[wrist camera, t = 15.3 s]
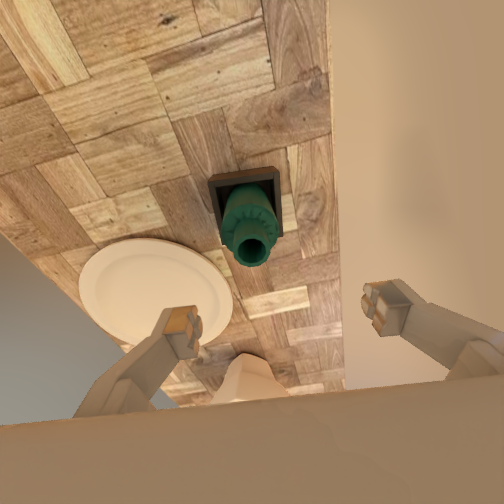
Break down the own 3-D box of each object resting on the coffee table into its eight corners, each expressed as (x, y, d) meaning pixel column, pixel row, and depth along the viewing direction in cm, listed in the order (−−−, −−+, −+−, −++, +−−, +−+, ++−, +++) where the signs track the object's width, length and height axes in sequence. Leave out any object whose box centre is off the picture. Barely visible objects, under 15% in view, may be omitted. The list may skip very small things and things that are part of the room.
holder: (273, 165, 29) (279, 171, 25) (277, 223, 34) (283, 236, 29) (212, 174, 30) (207, 181, 25) (224, 230, 34) (222, 245, 29)
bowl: (233, 328, 46) (231, 396, 34) (298, 353, 52) (315, 419, 40) (197, 369, 53) (184, 437, 41) (258, 388, 59) (262, 452, 47)
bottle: (264, 178, 30) (284, 213, 16) (268, 216, 33) (287, 274, 19) (224, 184, 30) (209, 224, 16) (231, 221, 33) (224, 283, 19)
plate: (255, 266, 38) (256, 274, 36) (207, 352, 50) (206, 362, 48) (93, 207, 31) (83, 212, 29) (82, 323, 43) (75, 332, 41)
